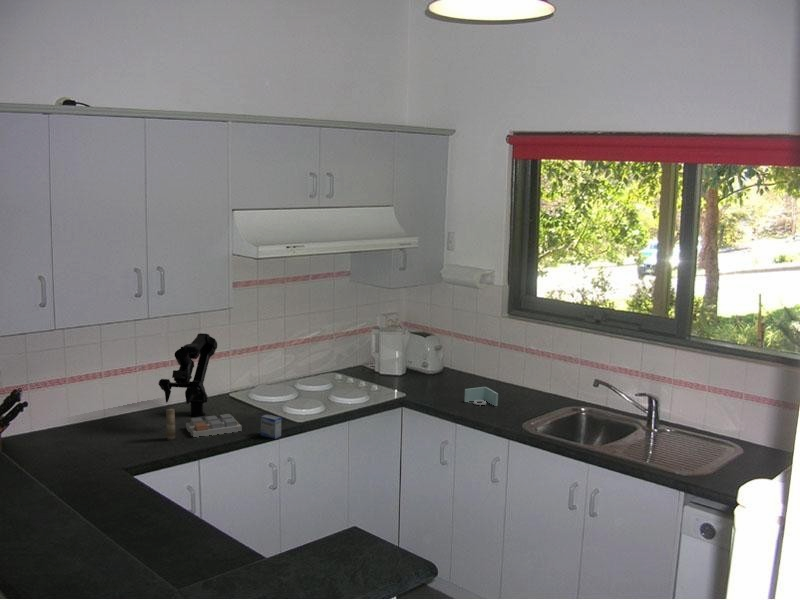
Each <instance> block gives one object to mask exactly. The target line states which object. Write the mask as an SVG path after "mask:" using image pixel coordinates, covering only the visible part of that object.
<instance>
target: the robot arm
mask: <svg viewBox="0 0 800 600" xmlns="http://www.w3.org/2000/svg"><path fill="white" fill-rule="evenodd" d="M217 349H218V341H217V340H216V339H215V338H214V337H212V336H210V334H209V333H201V332H200V333H197V336H196V337H195V338H194V339H193V341H192V342H190V343H188V344H184V345H183V346H180V348H178V349H177V350H175V352H174V358H175V359H176V362H177V364H178V365H179V367H178V369H177V370H175V369H174V370H173V371H172V375H171V378H172V379H173V381H174V382H171V381H170V378H161V379H159V381H158V386H159V387H160V389H161V390H162V391H163V392H164V398H165V403H167V404H168V403H169V399H170V396H171V392H172V391H171V389H172V388H180V389H181V388H182V389H185V391H184V392H185V393H184V396H185V401H186V404H187V405H190V407H189V408H190V411H188V414H189V415H190V417H192V418H195V417H200V416H206V413H205V412H204V404H205V403H207V402H208V394H207V392H206V389H205V386H204V383H205V378H206V375H207V371H208V367H209V362H210V358H211V357H213V356H214V355H215V353H216V350H217ZM197 359H198V361H197V363H196V364H197V365H196V370H195V372H194V376H193V379H192V374H193V370H194V368H195V361H194V360H197ZM191 379H192V381H191Z"/></svg>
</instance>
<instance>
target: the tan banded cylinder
mask: <svg viewBox="0 0 800 600" xmlns="http://www.w3.org/2000/svg"><path fill="white" fill-rule="evenodd" d="M175 414H176V411H175V408H166V409H165V415H166V416H165V417H166V418H165V422H166V423H165V425H166V440H167V441H168V440H173V441H175V440H176V420H175V419H176V415H175ZM174 439H175V440H174Z"/></svg>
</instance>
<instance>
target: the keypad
mask: <svg viewBox="0 0 800 600" xmlns="http://www.w3.org/2000/svg"><path fill="white" fill-rule="evenodd" d="M200 422H205V423H206V424H207V430H204V431H196V430H195V427H194V423H200ZM242 428H243V426H242V424H240V422H239V421H237V420H236V418H234V416H233V415H232V414H231V413H225V414H220V415H219V418H218V417H217V416H216V415H209V416H205V419H204V420H203V418H202V417H200V416H198V417H192V418H190V422H186V423H185V429H186V430H187V431H188V433H189V432H190V433H191V434H190V433H189V434H190V436H191V437H192V436H193V437H197V438H200V437H199V436H205V437H210V436H209V435H212V436H218V435H217V434H219V435H225V434H224V433H227V434H232V432H234V433H239V432H238V431H241V432H242ZM193 437H192V438H193Z"/></svg>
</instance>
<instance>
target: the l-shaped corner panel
mask: <svg viewBox="0 0 800 600" xmlns="http://www.w3.org/2000/svg"><path fill="white" fill-rule="evenodd" d="M484 400H485V401H484ZM463 401H464V402H468V403H470V402H469V401H474V402H472V403H473V404H476V405H480V406H479V407H481V405H485V406H487V404H489V403H490V405H491V404H492V405H491V406H493V405H494V406H498V403H499V393H498V392H496V391H494V390H493V389H491V388H489V387H487V386H480V387H479V386H478V387H473V388H465V389H464V399H463ZM486 401H487V402H488V403H487V402H486ZM477 402H482V403H477ZM473 404H472V405H473ZM494 406H493V407H494Z"/></svg>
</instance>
